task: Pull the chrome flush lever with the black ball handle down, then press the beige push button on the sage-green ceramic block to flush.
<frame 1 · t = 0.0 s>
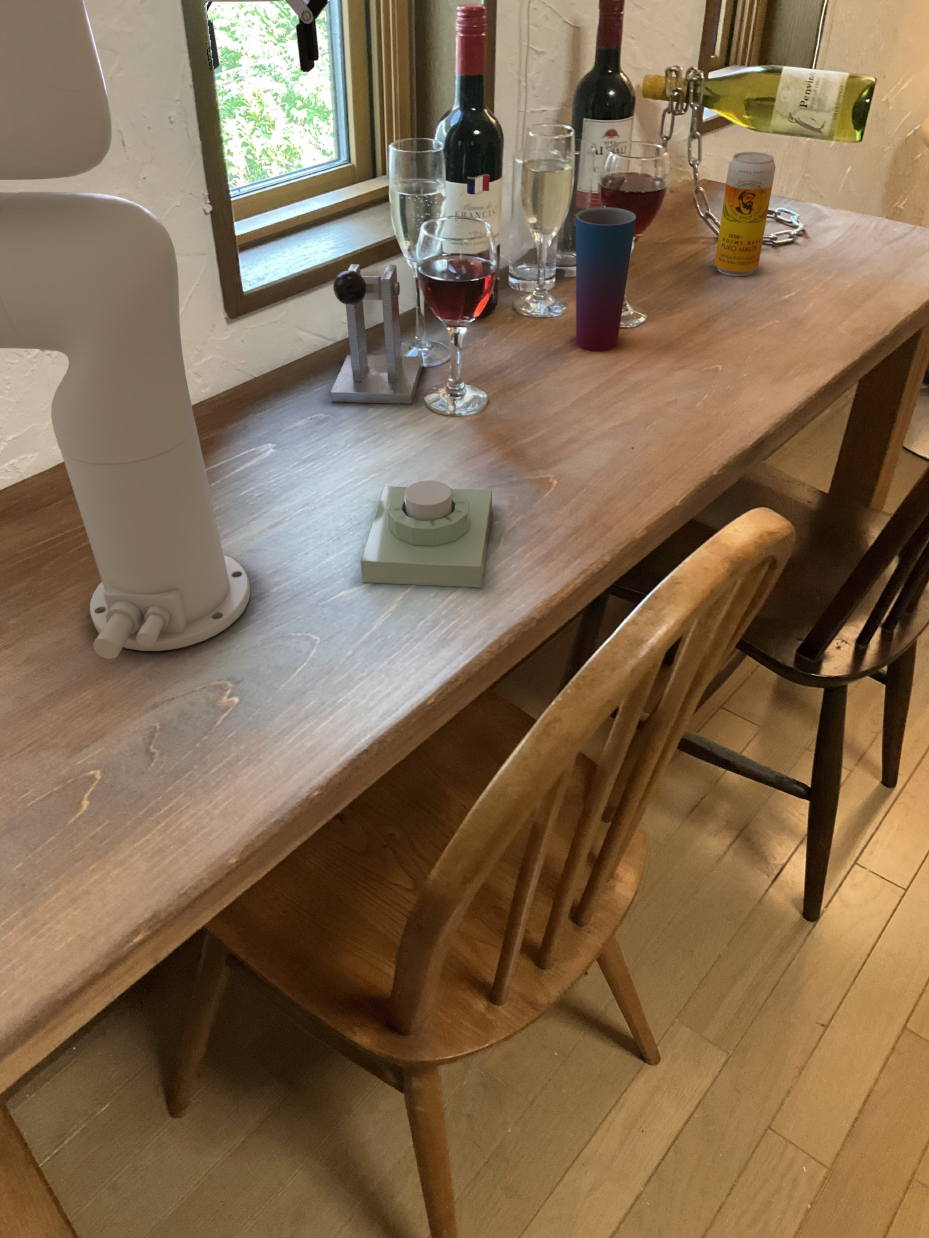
hand: (259, 69, 94), 31 cm above the table, tool pointing down, fingers open, 9 cm apart
cup: (596, 344, 118), on the table
lever bracket: (378, 383, 110), on the table
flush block: (430, 544, 85), on the table
beer can: (735, 271, 137), on the table
flush lever: (361, 288, 98), point 13 cm above the table, hinge at 20.0°
beige push button: (428, 501, 82), point 4 cm above the table, slide at 0.1 cm
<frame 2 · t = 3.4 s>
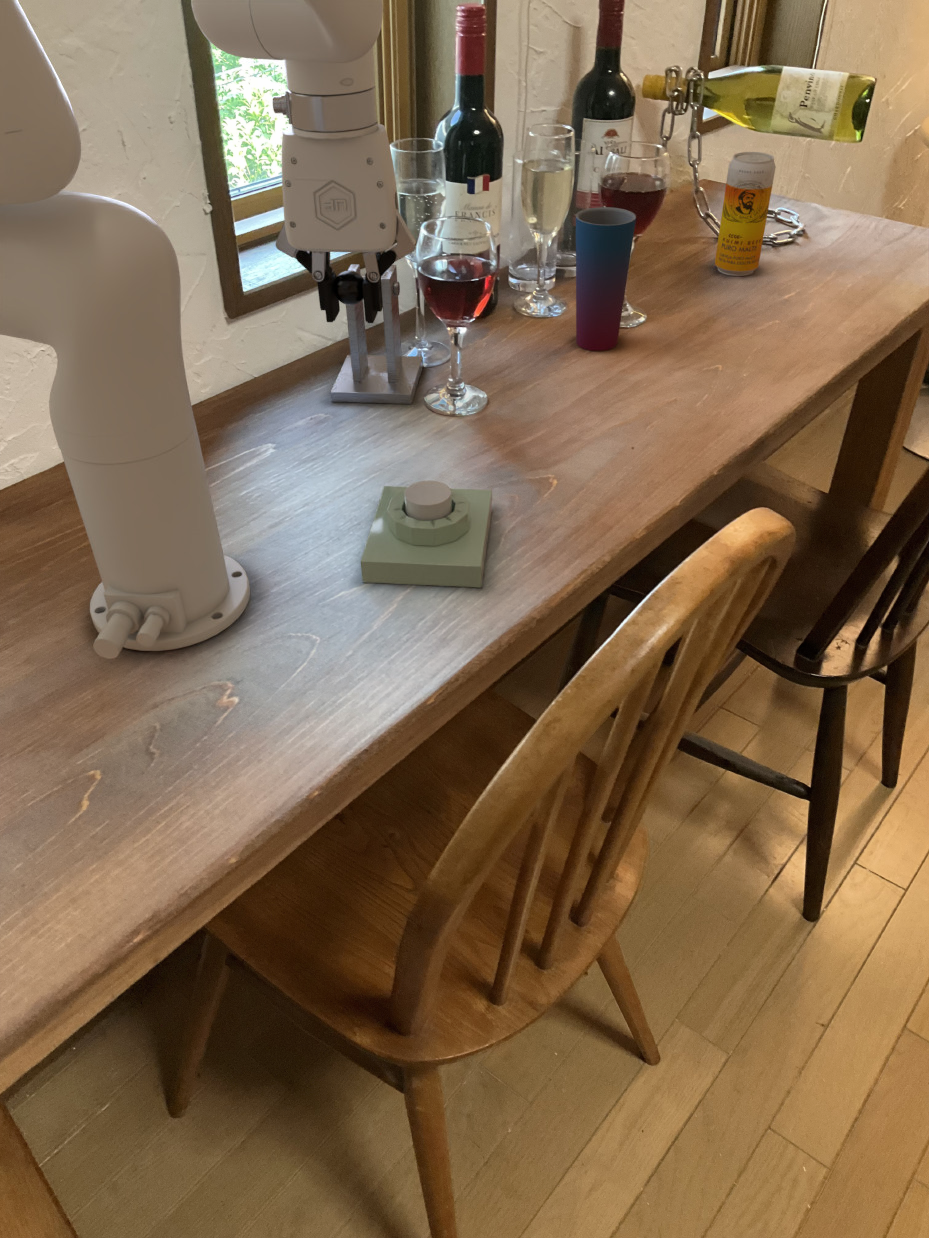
hand: (352, 315, 95), 12 cm above the table, tool pointing down, fingers closed on flush lever, 3 cm apart
flush lever: (361, 288, 98), point 13 cm above the table, hinge at 20.0°, touching gripper
everything else where it was.
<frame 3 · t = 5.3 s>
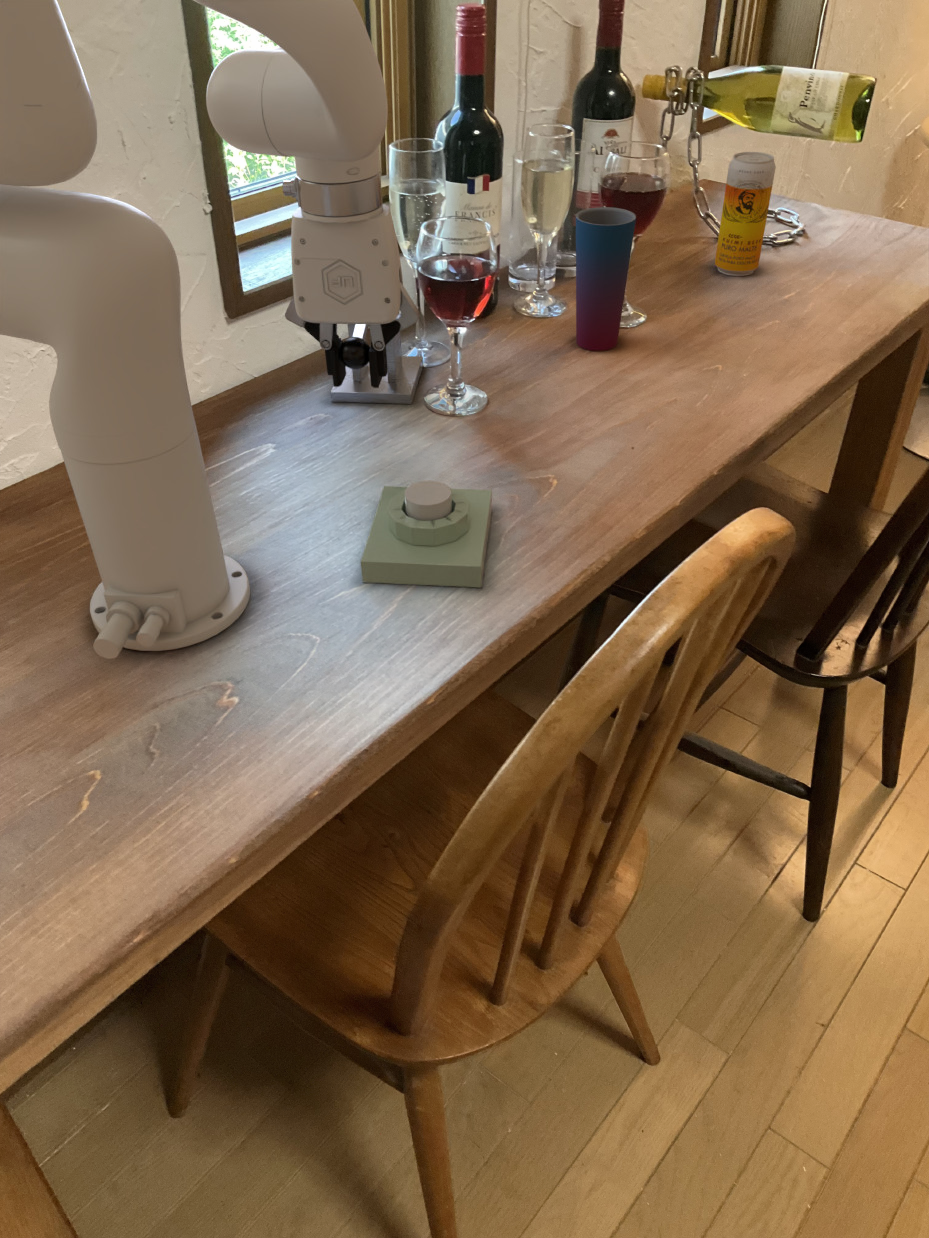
hand: (358, 380, 99), 5 cm above the table, tool pointing down, fingers closed on flush lever, 3 cm apart
flush lever: (363, 320, 100), point 10 cm above the table, hinge at -14.5°, touching gripper
everything else where it was.
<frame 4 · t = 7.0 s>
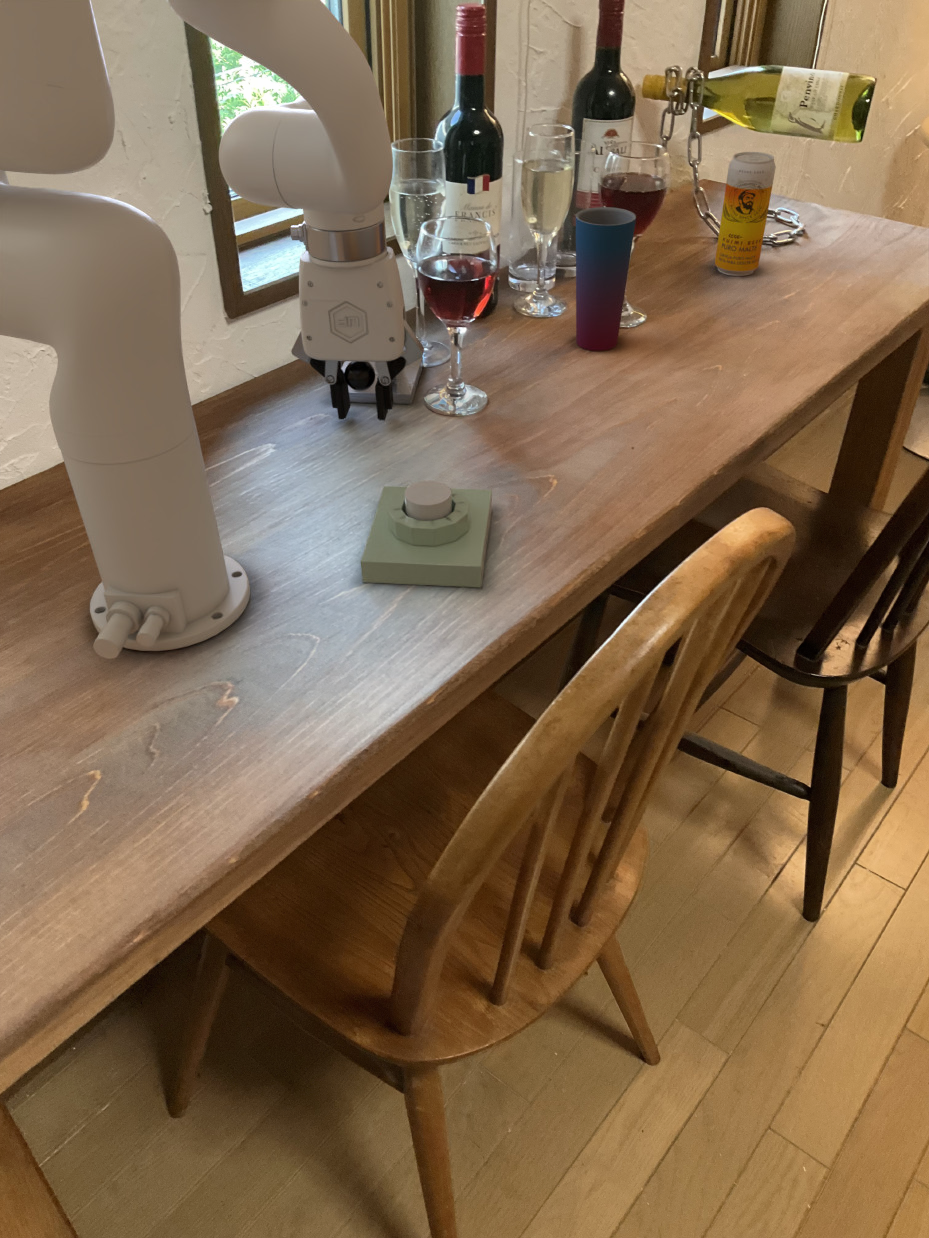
hand: (363, 412, 102), 1 cm above the table, tool pointing down, fingers open, 3 cm apart
flush lever: (365, 331, 101), point 8 cm above the table, hinge at -30.9°
everything else where it was.
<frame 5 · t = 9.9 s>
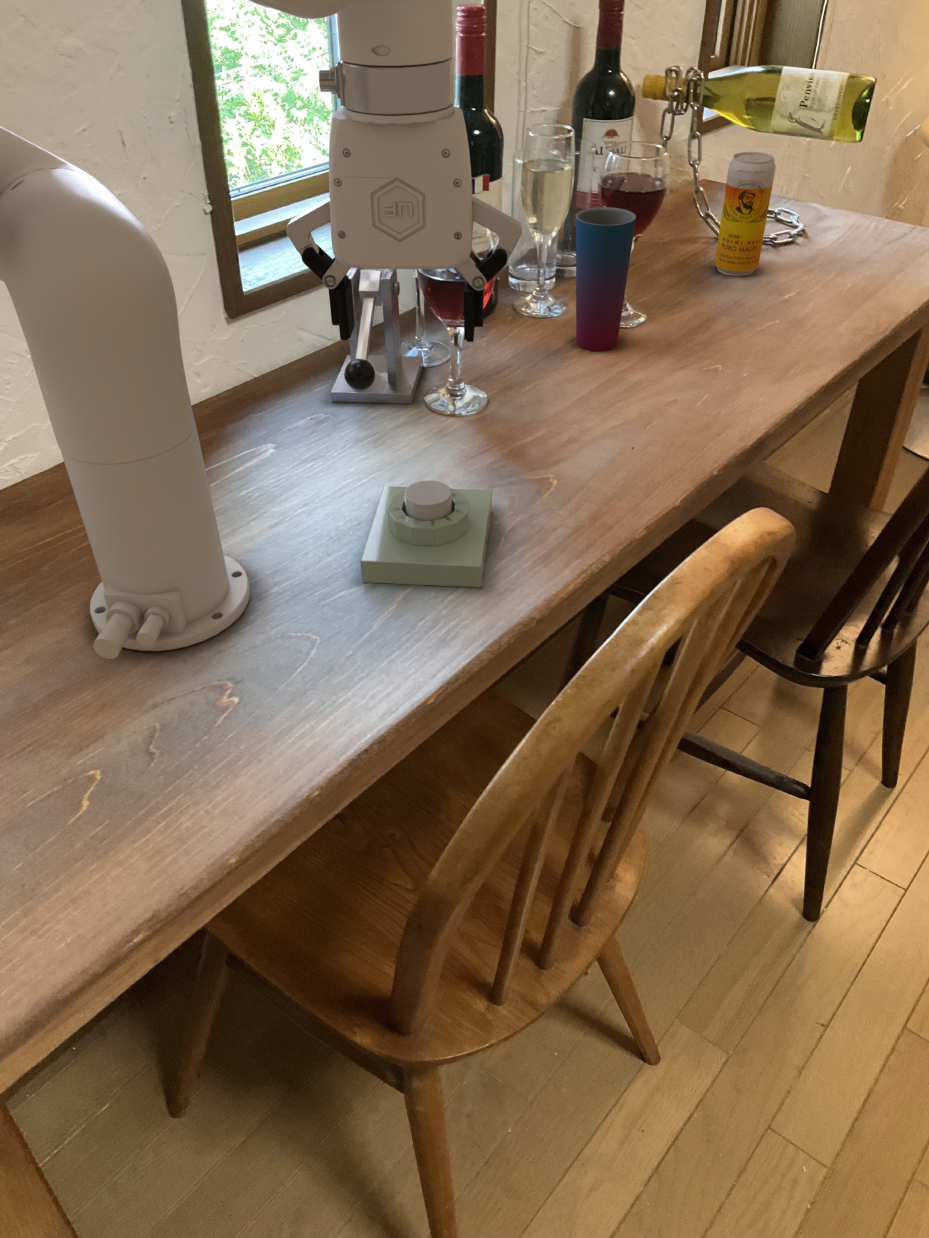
hand: (408, 334, 75), 18 cm above the table, tool pointing down, fingers open, 9 cm apart
flush lever: (365, 331, 101), point 8 cm above the table, hinge at -30.5°
everything else where it was.
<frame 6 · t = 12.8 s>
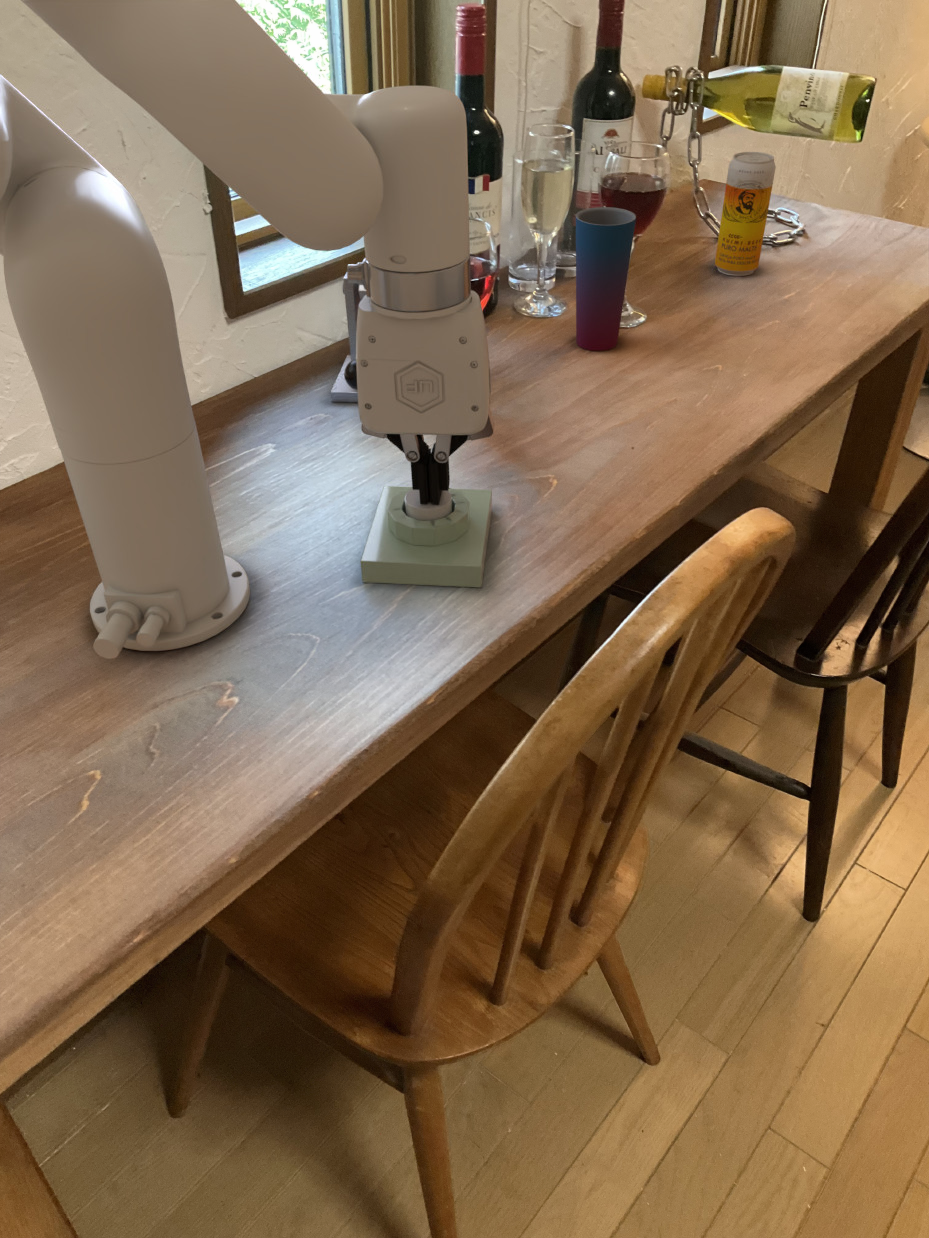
hand: (431, 495, 82), 5 cm above the table, tool pointing down, fingers closed
beige push button: (428, 505, 82), point 4 cm above the table, slide at -0.3 cm, touching gripper
everything else where it was.
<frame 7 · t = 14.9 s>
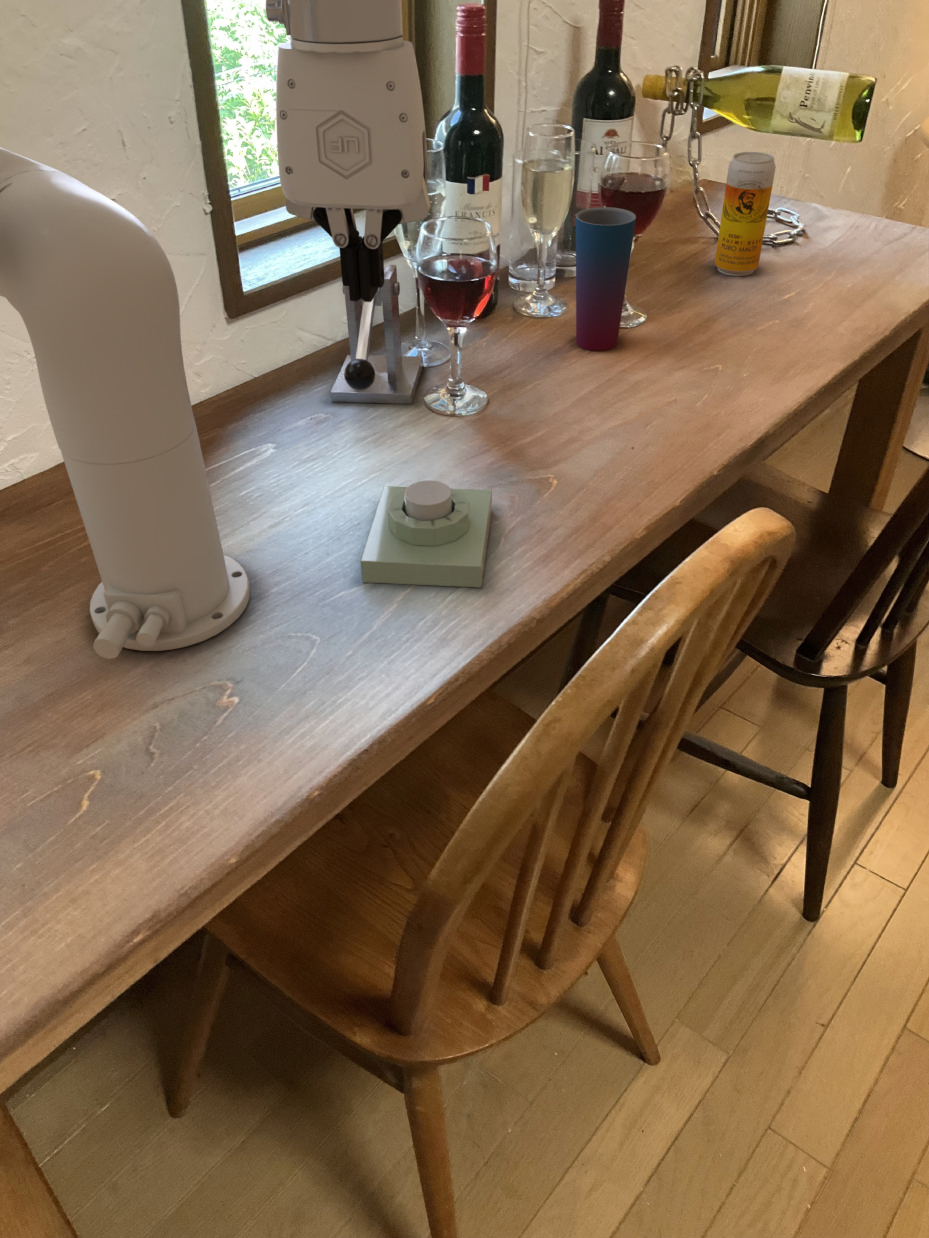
hand: (364, 295, 75), 21 cm above the table, tool pointing down, fingers closed
beige push button: (428, 501, 82), point 4 cm above the table, slide at 0.1 cm
everything else where it was.
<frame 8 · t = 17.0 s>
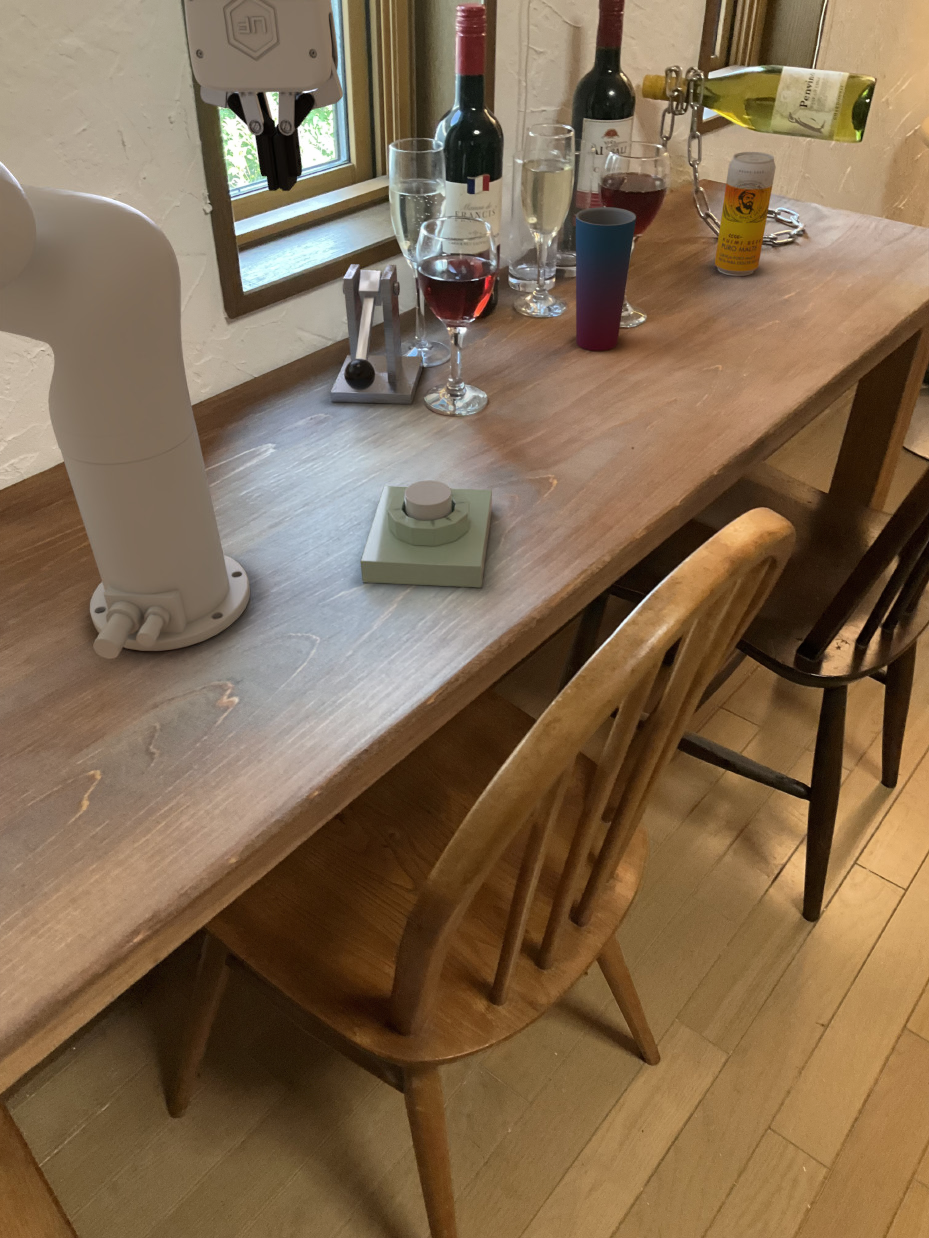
hand: (283, 185, 76), 27 cm above the table, tool pointing down, fingers closed
nothing on the table moved.
at the end: flush lever at -30° (first picture: +20°); beige push button pushed in 1.0 cm at the most during the clip, back to where it started at the end; beige push button slide at 0.1 cm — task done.
